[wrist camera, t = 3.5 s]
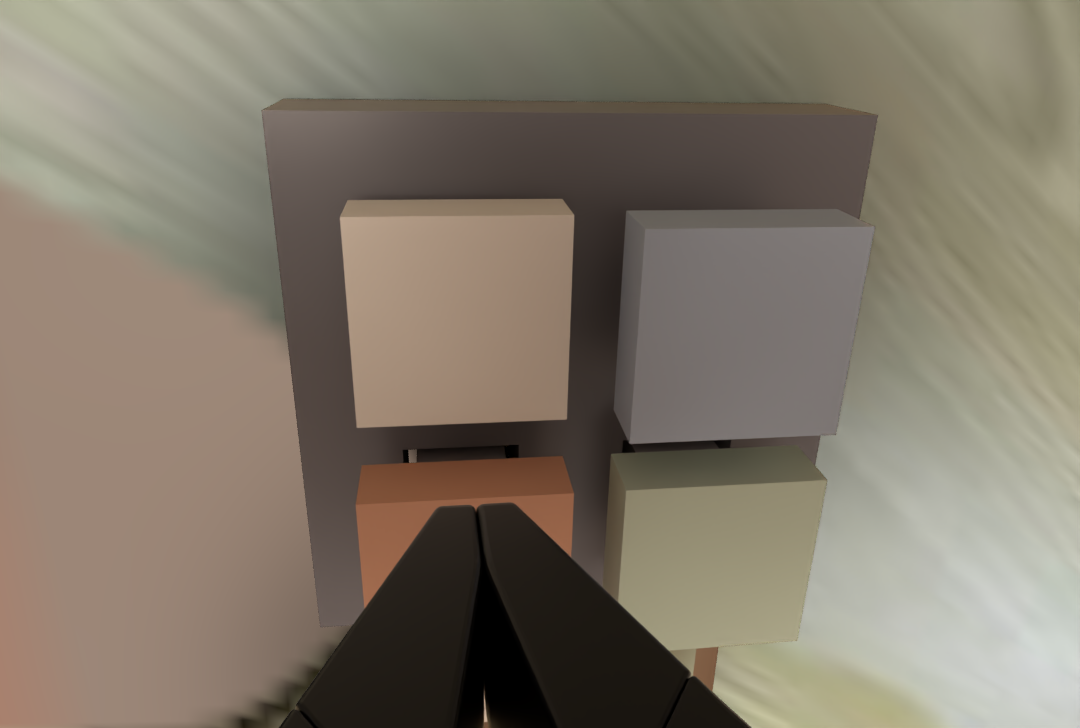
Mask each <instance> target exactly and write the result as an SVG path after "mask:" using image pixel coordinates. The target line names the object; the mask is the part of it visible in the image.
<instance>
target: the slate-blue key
mask: <svg viewBox="0 0 1080 728" xmlns="http://www.w3.org/2000/svg"><path fill="white" fill-rule="evenodd" d="M874 230H875V226H873V225H870V224H868V223H866V222H864V221H862V220H860V219H858V218H855V217H853V216H851V215H849V214H847V213H845V212H842V211H840V210H838V209H761V210H632V211H626V222H625V238H624V254H623V270H622V286H621V302H620V318H619V333H618V349H617V365H616V381H615V397H614V412H615V414H616V416H617V418H618V420H619V422H620V424H621V427H622V429H623V431H624V433H625V435H626V437H627V439H628V441H629V444H640V443H662V442H685V441H707V440H730V439H752V438H774V437H797V436H819V435H836V432H837V426H838V421H839V416H840V410H841V405H842V400H843V394H844V389H845V384H846V379H847V373H848V368H849V363H850V357H851V352H852V347H853V341H854V336H855V331H856V325H857V320H858V315H859V310H860V304H861V299H862V294H863V288H864V283H865V278H866V272H867V267H868V262H869V256H870V251H871V246H872V241H873V235H874Z"/></svg>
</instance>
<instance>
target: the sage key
mask: <svg viewBox="0 0 1080 728" xmlns="http://www.w3.org/2000/svg"><path fill="white" fill-rule="evenodd" d="M826 485H827V479H826V478H825V477H824V476H823V475H822V473H821V472H820V471H819V470H818V469H817V468H816V466H815V465H814V464H813V463H812V462H811V461H810V460H809V458H808V457H807V456H806V455H805V454H804V453H803V451H802V450H801V449H800V448H799V447H798V446H797V445H790V446H768V447H747V448H725V449H719V448H718V446H717V445H716V443H715V442H714V440H707V441H685V442H662V443H640V444H629V441H628V440H623V447H622V453H616V454H611V461H610V477H609V493H608V509H607V525H606V540H605V556H604V572H603V588H604V589H605V590H606V591H607V592H608V593H609V594H610V595H611V596H612V597H613V598H614V599H615V600H616V601H618V602H619V603H620V604H621V605H622V606H623V607H624V608H625V609H626V610H627V611H628V612H629V613H630V614H631V615H632V616H633V617H634V618H635V619H636V620H637V621H638V622H639V623H641V624H642V625H643V626H644V627H645V628H646V629H647V630H648V631H649V632H650V633H651V634H652V635H653V636H654V637H655V638H656V639H657V640H658V641H659V642H660V643H661V644H662V645H664V646H665V647H666V648H667V649H668V650H669V651H671V650H684V649H697V648H710V647H723V646H736V645H749V644H761V643H774V642H787V641H797V638H798V633H799V628H800V623H801V617H802V612H803V607H804V601H805V596H806V591H807V585H808V580H809V575H810V570H811V564H812V559H813V554H814V548H815V543H816V538H817V532H818V527H819V522H820V516H821V511H822V506H823V501H824V495H825V490H826Z"/></svg>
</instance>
